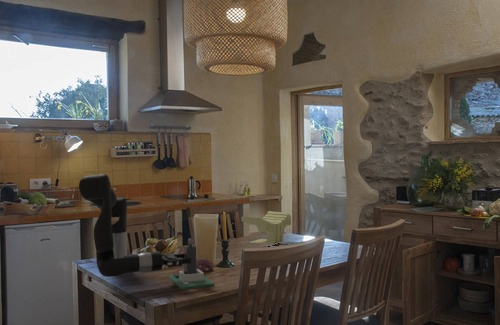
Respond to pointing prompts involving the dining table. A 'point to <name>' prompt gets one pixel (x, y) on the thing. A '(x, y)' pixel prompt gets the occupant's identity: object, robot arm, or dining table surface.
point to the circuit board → (190, 280)
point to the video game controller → (203, 264)
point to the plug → (190, 253)
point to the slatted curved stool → (270, 226)
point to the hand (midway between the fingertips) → (187, 258)
